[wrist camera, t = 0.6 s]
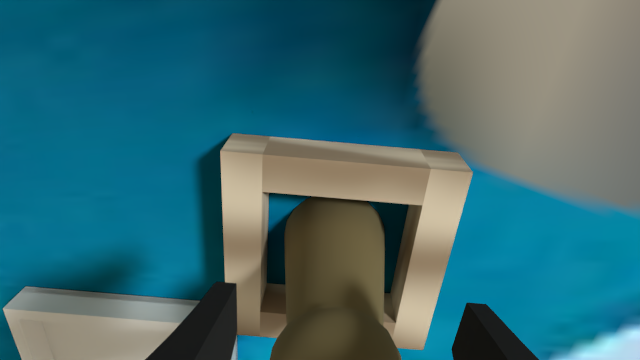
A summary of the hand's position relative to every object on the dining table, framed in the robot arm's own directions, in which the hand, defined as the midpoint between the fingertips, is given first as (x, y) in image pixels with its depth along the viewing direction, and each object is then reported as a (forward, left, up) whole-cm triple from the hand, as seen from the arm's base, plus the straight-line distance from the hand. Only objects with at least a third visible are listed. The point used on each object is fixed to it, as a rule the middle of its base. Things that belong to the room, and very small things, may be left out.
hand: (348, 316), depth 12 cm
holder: (-4, 0, -10) cm, 11 cm away
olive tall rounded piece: (-4, 0, -11) cm, 11 cm away
